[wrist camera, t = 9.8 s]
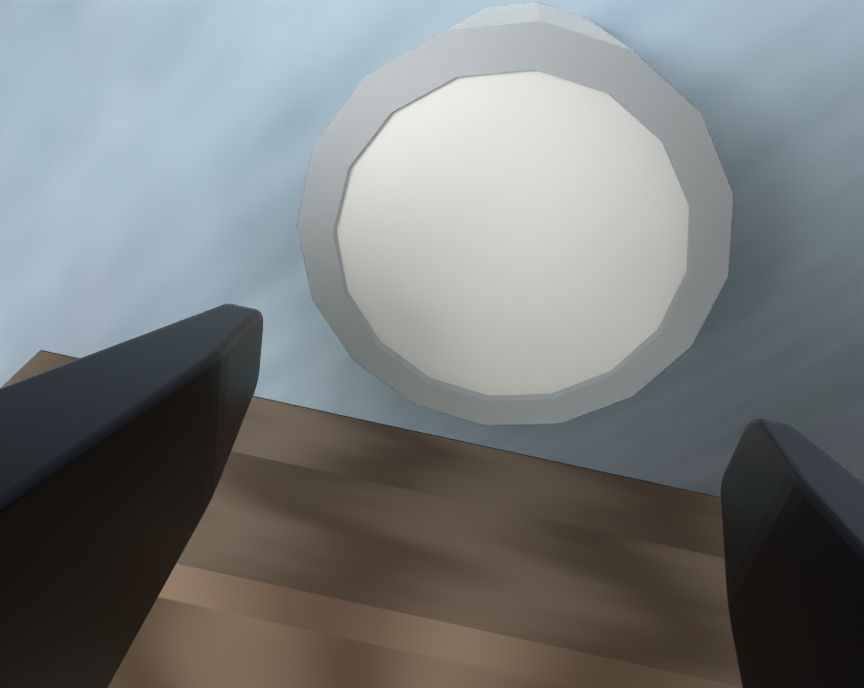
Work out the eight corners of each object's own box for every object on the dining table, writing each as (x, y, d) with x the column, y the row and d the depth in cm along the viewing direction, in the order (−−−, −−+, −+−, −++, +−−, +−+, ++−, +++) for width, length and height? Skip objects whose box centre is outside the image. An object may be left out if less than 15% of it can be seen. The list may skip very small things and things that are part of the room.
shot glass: (567, 313, 21) (577, 489, 15) (327, 187, 20) (235, 321, 14) (737, 70, 18) (838, 171, 12) (457, -95, 17) (410, -78, 11)
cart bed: (65, 662, 31) (-41, 839, 25) (40, 350, 24) (-117, 499, 18) (587, 777, 30) (597, 981, 25) (720, 498, 23) (777, 694, 18)
